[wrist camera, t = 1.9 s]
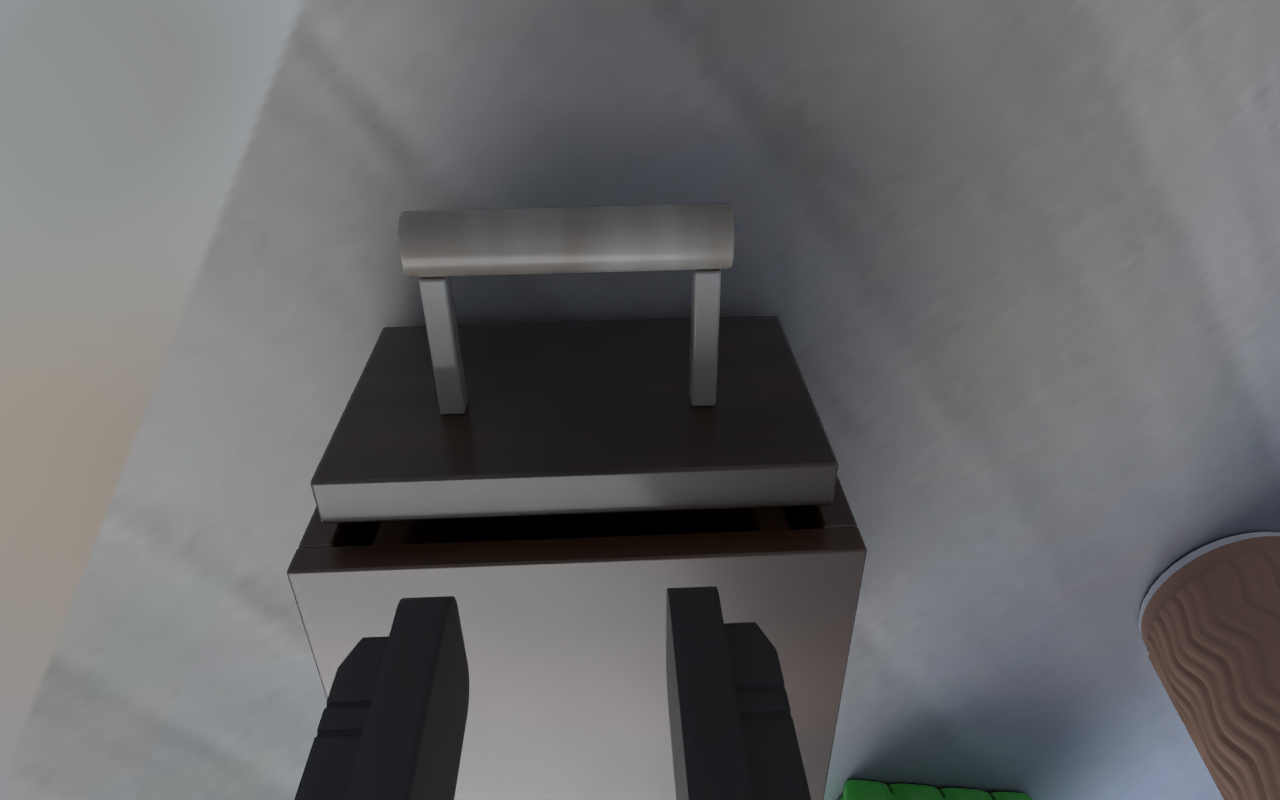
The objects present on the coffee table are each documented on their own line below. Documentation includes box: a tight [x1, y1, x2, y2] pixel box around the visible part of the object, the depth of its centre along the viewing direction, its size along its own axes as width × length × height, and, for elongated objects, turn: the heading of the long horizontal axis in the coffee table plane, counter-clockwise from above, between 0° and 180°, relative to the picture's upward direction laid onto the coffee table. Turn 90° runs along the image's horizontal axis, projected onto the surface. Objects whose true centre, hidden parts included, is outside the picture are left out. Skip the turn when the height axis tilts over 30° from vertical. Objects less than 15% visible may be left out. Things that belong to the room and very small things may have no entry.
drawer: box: [311, 203, 838, 545], centre depth 23 cm, size 18×11×7 cm, turn 1°
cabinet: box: [287, 476, 867, 800], centre depth 26 cm, size 15×13×9 cm
